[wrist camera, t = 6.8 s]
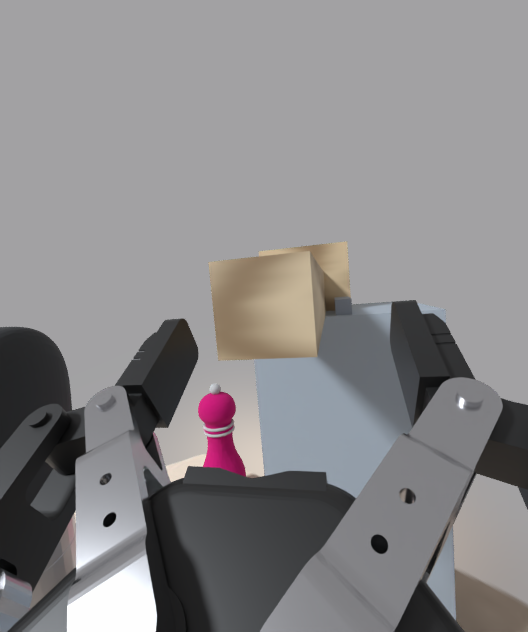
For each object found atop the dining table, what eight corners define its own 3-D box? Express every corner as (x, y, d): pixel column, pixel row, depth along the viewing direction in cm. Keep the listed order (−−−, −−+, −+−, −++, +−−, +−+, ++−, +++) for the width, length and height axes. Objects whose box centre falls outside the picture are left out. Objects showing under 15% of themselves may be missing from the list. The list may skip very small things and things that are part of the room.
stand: (283, 680, 27) (249, 306, 24) (296, 568, 38) (274, 299, 35) (459, 715, 24) (444, 292, 21) (420, 582, 35) (406, 289, 32)
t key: (164, 362, 12) (146, 202, 11) (275, 309, 35) (271, 256, 35) (385, 354, 10) (375, 164, 10) (347, 304, 33) (344, 248, 33)
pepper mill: (232, 481, 57) (221, 374, 55) (256, 499, 51) (245, 382, 49) (196, 501, 52) (183, 385, 50) (219, 523, 46) (205, 394, 45)
